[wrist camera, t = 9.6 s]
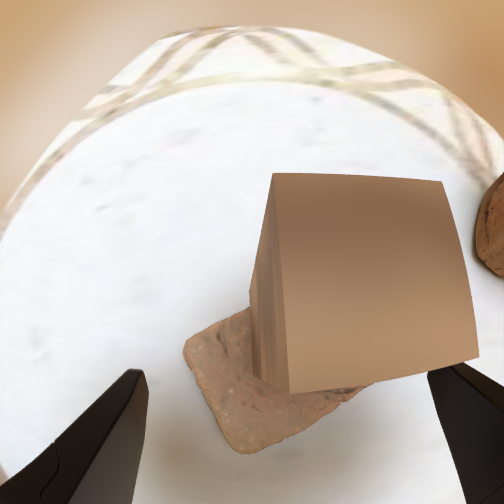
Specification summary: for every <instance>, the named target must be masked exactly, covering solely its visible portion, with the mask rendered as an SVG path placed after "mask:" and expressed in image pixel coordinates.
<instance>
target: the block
mask: <svg viewBox="0 0 504 504" xmlns="http://www.w3.org/2000/svg"><path fill="white" fill-rule="evenodd" d="M475 235H476V249H477V253H478V256H479V258H480V259H481V260H482V261H484V262H485V264H486V265H487V266H488V267H489V268H490V269H491V270H492V271H493V272H495V273H496V274H497V275H499V276H504V172H503V174H502V175H501V176H500V177H499V178H498V179H497V180H496V181H495V182H494V183H493V184H492V185H491V186H490V188H489V189H488V191H487V194H486V196H485V198H484V200H483V202H482V204H481V207H480V211H479V216H478V220H477V225H476V234H475Z"/></svg>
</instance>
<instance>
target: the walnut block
mask: <svg viewBox="0 0 504 504" xmlns="http://www.w3.org/2000/svg"><path fill="white" fill-rule="evenodd" d="M249 292H250V312H251V332H252V352H253V372H254V376H255V377H257V378H258V379H260V380H262V381H264V382H266V383H268V384H270V385H272V386H274V387H276V388H279V389H281V390H283V391H285V392H287V393H289V394H294V393H305V392H314V391H322V390H330V389H337V388H344V387H351V386H357V385H363V384H369V383H375V382H380V381H386V380H391V379H396V378H401V377H405V376H410V375H414V374H419V373H423V372H427V371H431V370H435V369H439V368H443V367H447V366H451V365H454V364H458V363H461V362H465V361H468V360H472V359H475V358H478V357H479V349H478V340H477V331H476V323H475V316H474V309H473V303H472V297H471V291H470V286H469V281H468V276H467V271H466V266H465V262H464V257H463V253H462V249H461V245H460V241H459V237H458V233H457V229H456V226H455V222H454V219H453V215H452V212H451V209H450V205H449V202H448V199H447V196H446V193H445V190H444V187H443V184H442V182H441V181H431V180H420V179H408V178H396V177H381V176H364V175H344V174H314V173H273V174H272V179H271V184H270V189H269V195H268V200H267V205H266V210H265V215H264V220H263V225H262V230H261V235H260V240H259V245H258V250H257V255H256V260H255V265H254V270H253V275H252V280H251V285H250V290H249Z"/></svg>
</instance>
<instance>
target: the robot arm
mask: <svg viewBox="0 0 504 504" xmlns="http://www.w3.org/2000/svg"><path fill="white" fill-rule="evenodd" d="M427 379H428V383H429V386H430V390H431V393H432V397H433V400H434V404H435V408H436V411H437V415H438V418H439V421H440V423H441V426H442V429H443V432H444V434H445V437H446V440H447V443H448V446H449V449H450V451H451V454H452V457H453V460H454V464H455V467H456V470H457V473H458V476H459V479H460V483H461V486H462V489H463V493H464V496H465V500H466V504H504V387H503V386H502V385H500V384H499V383H497V382H495V381H494V380H492V379H490V378H489V377H487V376H485V375H484V374H482V373H480V372H479V371H477V370H475V369H474V368H472V367H470V366H469V365H467V364H465V363H464V362H461V363H458V364H454V365H451V366H447V367H443V368H439V369H435V370H431V371H428V373H427ZM148 397H149V390H148V386H147V382H146V379H145V375H144V372H143V370H141V369H128V370H127V371H126V372H125V373H124V374H123V375H122V376H120V377H119V378H118V379H117V380H116V381H115V382H114V383H113V384H112V385H111V386H110V387H109V388H108V389H107V390H106V391H105V392H104V393H103V394H102V395H101V396H100V397H99V398H98V399H97V400H96V401H95V402H94V403H93V404H92V405H91V406H90V407H89V408H88V409H87V410H85V411H84V412H83V413H82V414H81V415H80V416H79V417H78V418H77V419H76V420H75V421H74V422H73V423H72V424H71V425H70V426H69V427H68V428H67V429H66V430H65V431H64V432H63V433H62V434H61V435H60V436H59V437H58V438H57V439H56V440H55V441H54V443H51V444H50V445H49V446H48V447H47V448H46V449H45V450H44V451H43V452H42V453H41V454H40V455H39V456H38V457H37V458H35V459H34V460H33V461H32V462H31V463H29V464H28V465H27V466H26V467H25V468H23V469H22V470H21V471H19V472H18V473H17V474H15V475H14V476H13V477H11V478H10V479H9V480H7V481H6V482H5V483H3V484H2V485H1V486H0V504H132V500H133V494H134V489H135V484H136V478H137V473H138V468H139V463H140V459H141V454H142V449H143V444H144V438H145V427H146V416H147V406H148Z"/></svg>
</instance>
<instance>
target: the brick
mask: <svg viewBox="0 0 504 504" xmlns="http://www.w3.org/2000/svg"><path fill="white" fill-rule="evenodd" d="M183 355H184V358H185V361H186V363H187V364H188V366H189V368H190V369H191V371H193V373H194V375H195V379H196V382H197V385H198V386H199V387H200V388H201V390H202V392H203V395H204V397H205V399H206V401H207V403H208V405H209V406H210V407H211V409H212V411H213V413H214V414H215V416H216V421H217V423H218V425H219V427H220V428H221V430H222V432H223V434H224V436H225V438H226V440H227V441H228V443H229V444H230V446H231V447H232V448H233V450H235V451H237V452H238V453H240V454H252V453H256V452H258V451H260V450H262V449H264V448H266V447H268V446H270V445H273V444H275V443H278V442H281V441H282V440H284V439H285V438H288V437H290V436H293V435H295V434H297V433H299V432H301V431H303V430H304V429H306V428H307V427H309V426H310V425H312V424H313V423H315V422H316V421H317V420H319V419H320V418H321V417H323V416H324V415H326V414H328V413H330V412H332V411H333V410H334V409H335V408H337V407H338V406H339V405H340V403H341V402H345V401H348V400H349V399H351V398H352V397H353V396H354V395H356V394H357V393H358V392H360V391H361V390H362V389H364V388H366V387H367V386H369V385H372V384H374V383H369V384H363V385H357V386H351V387H344V388H337V389H330V390H322V391H314V392H305V393H294V394H289V393H287V392H285V391H283V390H281V389H279V388H276V387H274V386H272V385H270V384H268V383H266V382H264V381H262V380H260V379H258V378H257V377H255V376H254V372H253V352H252V332H251V312H250V307H248V308H247V309H245V310H244V311H242V312H239V313H237V314H235V315H233V316H231V317H229V318H226V319H224V320H222V321H219V322H217V323H215V324H213V325H211V326H210V327H208V328H207V329H205V330H204V331H202V332H199V333H197V334H195V335H194V336H192V337H191V338H190V339H188V340H186V343H185V346H184V349H183Z"/></svg>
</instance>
